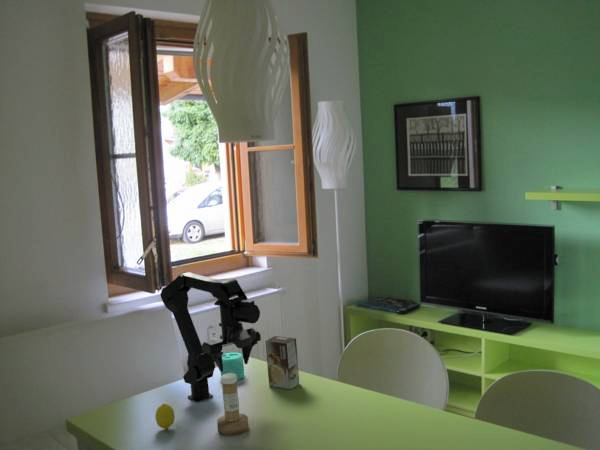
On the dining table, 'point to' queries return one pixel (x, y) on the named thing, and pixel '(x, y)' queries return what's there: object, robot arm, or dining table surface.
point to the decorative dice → (233, 364)
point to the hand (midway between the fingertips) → (233, 367)
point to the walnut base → (232, 426)
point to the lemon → (165, 416)
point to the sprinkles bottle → (230, 397)
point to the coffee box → (282, 362)
